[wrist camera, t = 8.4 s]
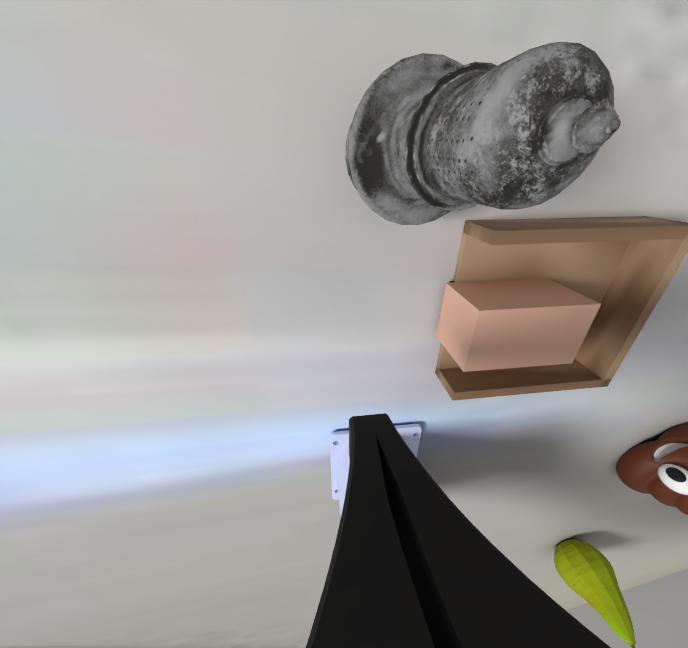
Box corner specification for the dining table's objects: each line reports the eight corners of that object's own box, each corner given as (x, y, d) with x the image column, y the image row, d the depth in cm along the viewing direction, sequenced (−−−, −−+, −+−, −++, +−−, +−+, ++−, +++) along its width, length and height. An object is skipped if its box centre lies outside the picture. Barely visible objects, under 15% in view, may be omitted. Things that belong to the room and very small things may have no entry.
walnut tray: (574, 361, 24) (607, 386, 21) (435, 372, 22) (452, 400, 20) (645, 216, 18) (703, 225, 15) (465, 220, 17) (495, 230, 14)
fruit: (571, 528, 40) (665, 657, 29) (594, 535, 42) (690, 658, 31) (535, 550, 42) (611, 677, 31) (559, 555, 44) (638, 676, 34)
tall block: (436, 336, 20) (527, 330, 21) (463, 371, 17) (572, 363, 17) (446, 282, 18) (546, 278, 19) (479, 310, 15) (601, 303, 15)
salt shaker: (474, 143, 15) (867, 97, 4) (396, 235, 17) (546, 351, 6) (395, 43, 13) (827, -540, 2) (315, 162, 14) (341, 157, 4)
